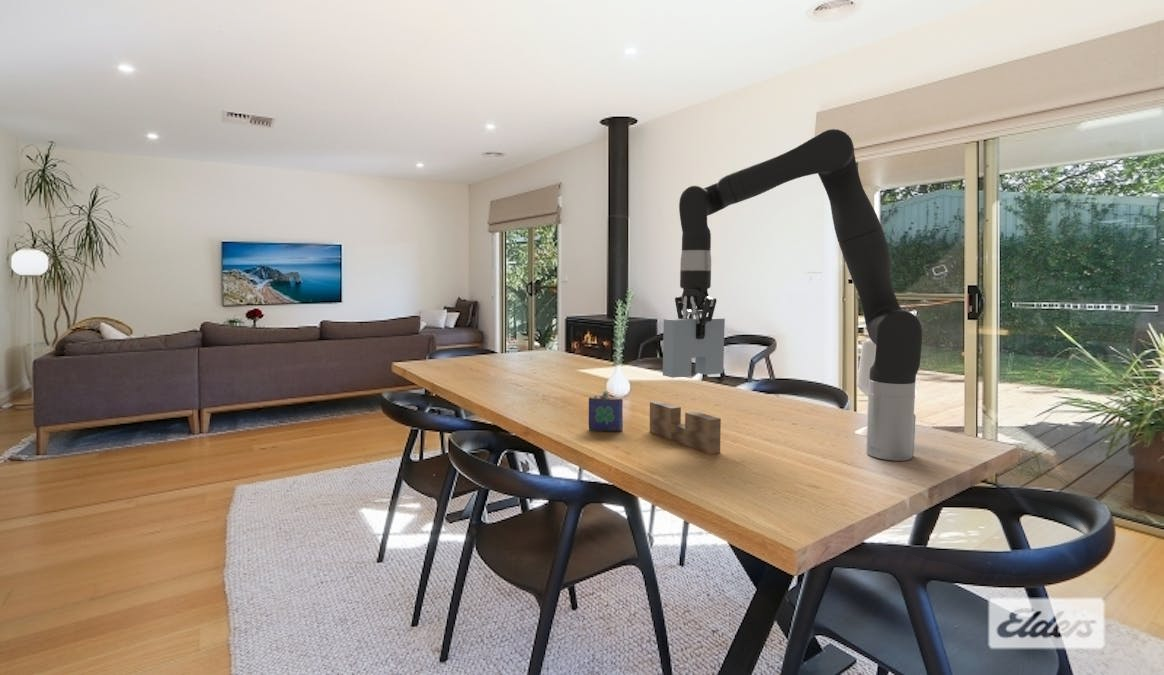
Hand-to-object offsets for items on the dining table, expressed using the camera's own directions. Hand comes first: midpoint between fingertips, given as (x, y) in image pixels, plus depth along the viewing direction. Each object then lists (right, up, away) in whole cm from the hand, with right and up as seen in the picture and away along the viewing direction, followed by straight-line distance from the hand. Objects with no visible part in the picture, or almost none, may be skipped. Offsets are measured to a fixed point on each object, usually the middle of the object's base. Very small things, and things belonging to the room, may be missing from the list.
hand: (694, 337), depth 149 cm
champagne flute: (+47, -25, +6) cm, 54 cm away
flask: (-22, -25, +11) cm, 35 cm away
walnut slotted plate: (-3, -26, -1) cm, 26 cm away
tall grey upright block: (0, -9, +1) cm, 9 cm away
